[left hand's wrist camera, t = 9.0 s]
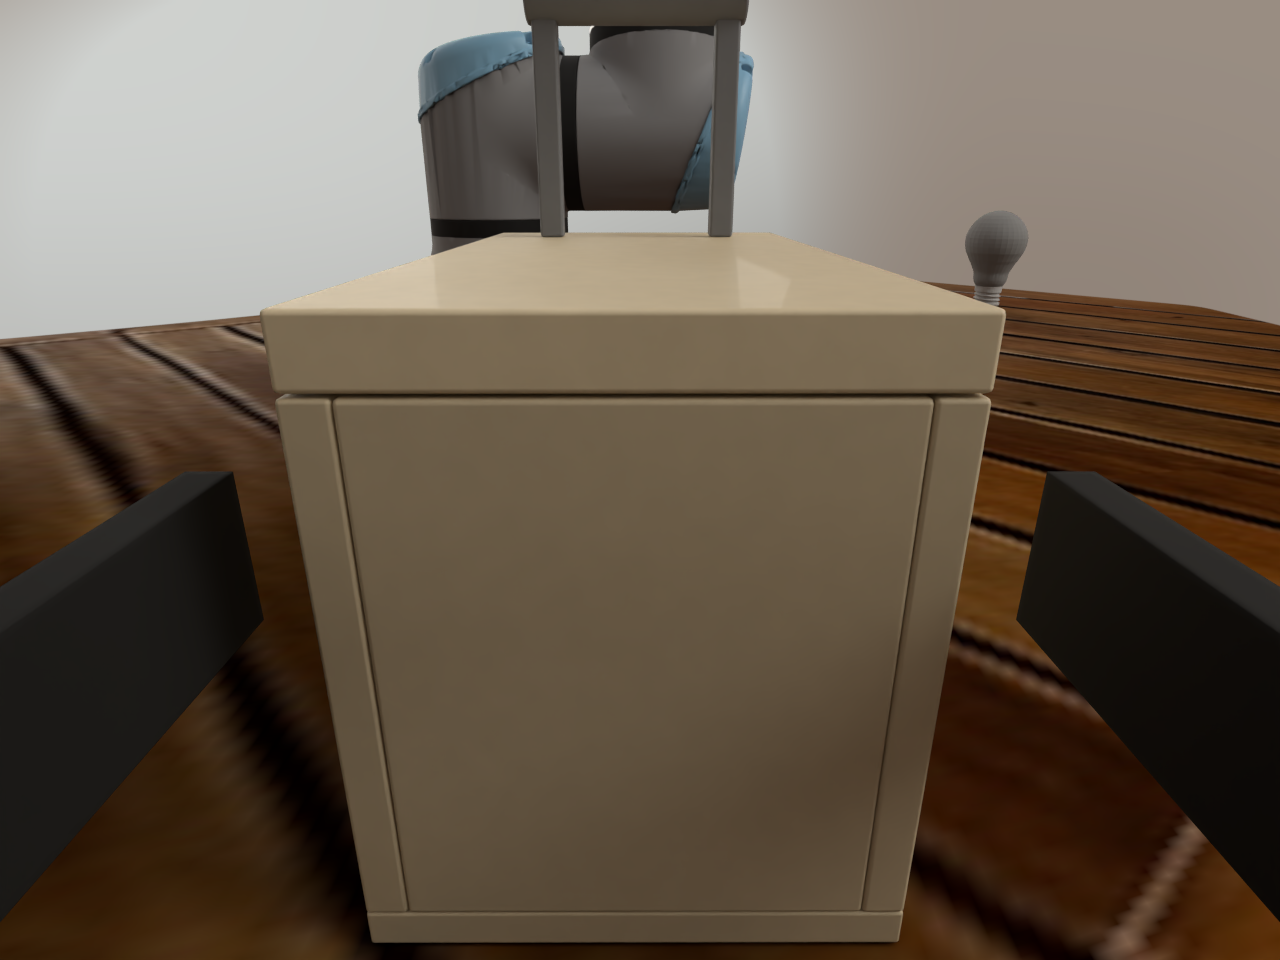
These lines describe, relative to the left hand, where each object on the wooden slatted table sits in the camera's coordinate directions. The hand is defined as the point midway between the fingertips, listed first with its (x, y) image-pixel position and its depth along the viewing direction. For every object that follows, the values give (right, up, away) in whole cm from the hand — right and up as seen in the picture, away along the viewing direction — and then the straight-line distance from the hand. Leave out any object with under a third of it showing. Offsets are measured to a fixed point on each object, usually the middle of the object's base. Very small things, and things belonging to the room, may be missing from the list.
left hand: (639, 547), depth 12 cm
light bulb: (+38, +20, +69) cm, 81 cm away
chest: (0, -4, +9) cm, 9 cm away
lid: (0, +5, +5) cm, 8 cm away
